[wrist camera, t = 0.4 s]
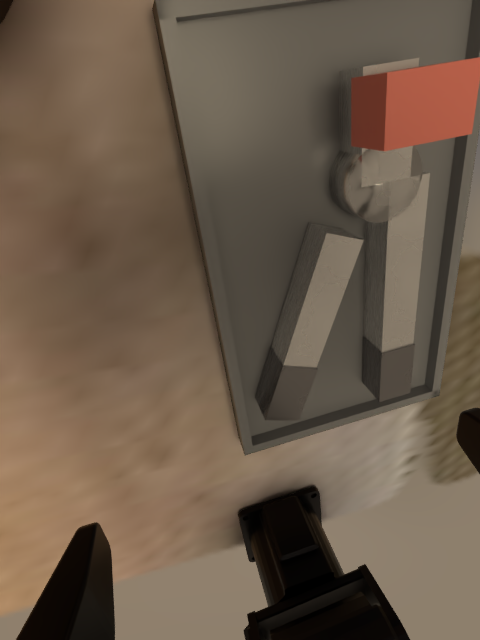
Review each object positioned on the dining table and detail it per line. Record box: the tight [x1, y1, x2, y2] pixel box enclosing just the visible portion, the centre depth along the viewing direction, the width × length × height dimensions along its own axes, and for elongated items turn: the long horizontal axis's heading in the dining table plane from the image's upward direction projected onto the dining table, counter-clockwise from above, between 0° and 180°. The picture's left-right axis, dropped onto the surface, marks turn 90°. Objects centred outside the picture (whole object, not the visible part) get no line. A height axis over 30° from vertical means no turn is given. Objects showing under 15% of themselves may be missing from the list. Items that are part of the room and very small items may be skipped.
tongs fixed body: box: [329, 58, 430, 402], centre depth 20 cm, size 18×4×2 cm, turn 8°
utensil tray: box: [152, 0, 480, 455], centre depth 21 cm, size 23×14×2 cm, turn 8°
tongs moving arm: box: [255, 222, 364, 421], centre depth 21 cm, size 11×2×2 cm, turn 166°
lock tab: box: [351, 57, 480, 151], centre depth 15 cm, size 2×4×2 cm, turn 98°
